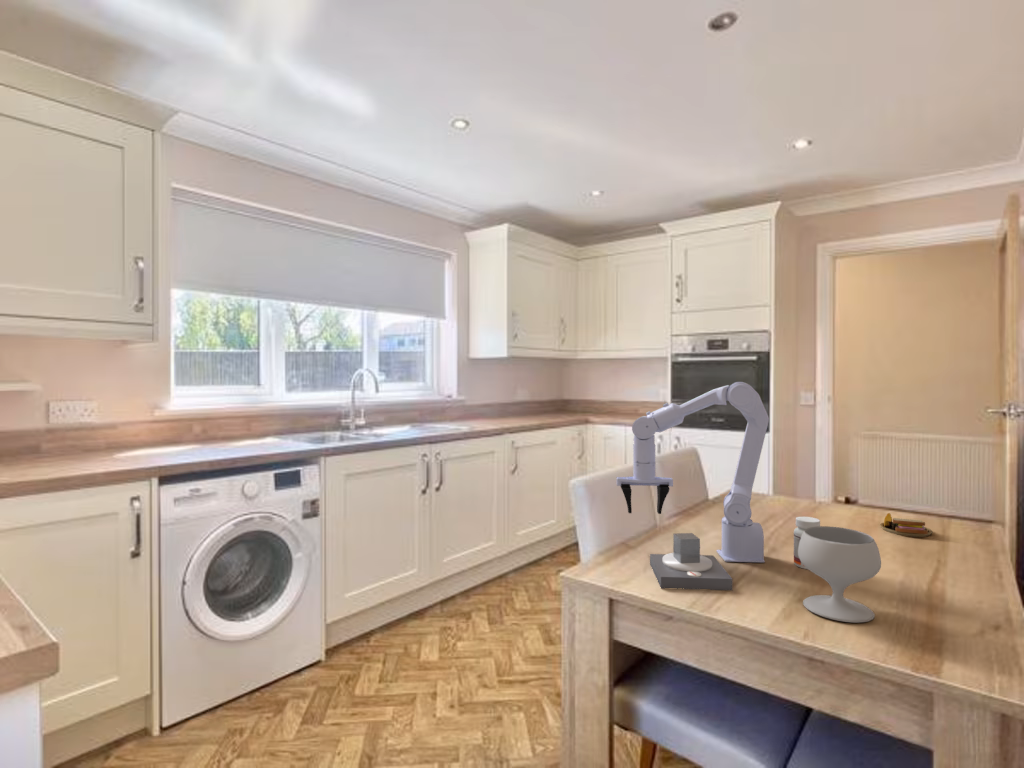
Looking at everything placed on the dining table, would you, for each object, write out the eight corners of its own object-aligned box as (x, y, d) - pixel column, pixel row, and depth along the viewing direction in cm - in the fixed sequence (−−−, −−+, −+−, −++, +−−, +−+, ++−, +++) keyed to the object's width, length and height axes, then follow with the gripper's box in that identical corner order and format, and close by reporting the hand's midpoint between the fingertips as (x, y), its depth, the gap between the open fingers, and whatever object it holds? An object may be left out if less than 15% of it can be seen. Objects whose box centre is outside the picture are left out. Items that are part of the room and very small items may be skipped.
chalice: (785, 595, 115) (785, 524, 115) (853, 596, 115) (853, 524, 115) (820, 626, 101) (820, 545, 101) (898, 627, 101) (898, 546, 101)
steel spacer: (692, 556, 130) (692, 533, 130) (699, 562, 126) (699, 538, 126) (673, 556, 130) (673, 533, 130) (680, 563, 126) (680, 539, 125)
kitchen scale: (713, 565, 133) (713, 552, 133) (732, 590, 118) (732, 575, 118) (649, 564, 134) (649, 550, 134) (660, 588, 120) (660, 573, 119)
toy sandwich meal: (933, 530, 161) (933, 514, 161) (931, 542, 151) (931, 524, 151) (882, 523, 169) (882, 508, 169) (877, 533, 159) (877, 517, 159)
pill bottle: (827, 567, 132) (828, 520, 131) (813, 572, 128) (814, 524, 128) (802, 559, 137) (802, 514, 137) (788, 564, 133) (788, 518, 133)
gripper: (669, 459, 150) (669, 509, 150) (615, 459, 151) (615, 508, 151) (674, 463, 143) (674, 516, 143) (617, 463, 144) (617, 515, 144)
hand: (644, 512), depth 147 cm, fingers open, 7 cm apart
